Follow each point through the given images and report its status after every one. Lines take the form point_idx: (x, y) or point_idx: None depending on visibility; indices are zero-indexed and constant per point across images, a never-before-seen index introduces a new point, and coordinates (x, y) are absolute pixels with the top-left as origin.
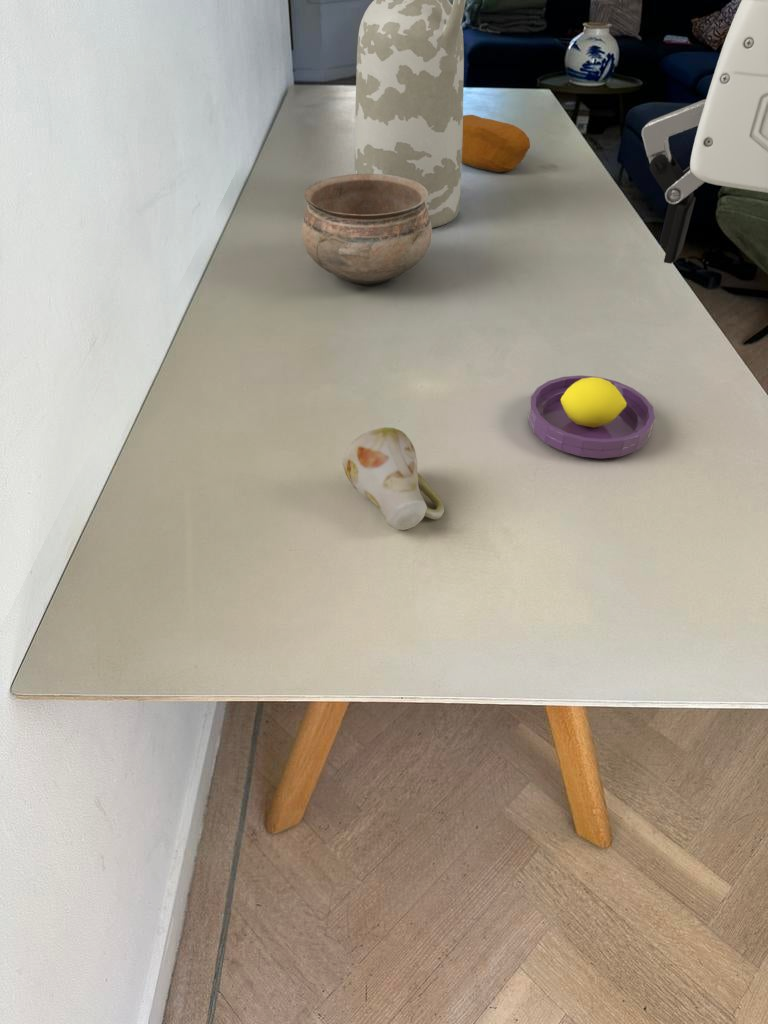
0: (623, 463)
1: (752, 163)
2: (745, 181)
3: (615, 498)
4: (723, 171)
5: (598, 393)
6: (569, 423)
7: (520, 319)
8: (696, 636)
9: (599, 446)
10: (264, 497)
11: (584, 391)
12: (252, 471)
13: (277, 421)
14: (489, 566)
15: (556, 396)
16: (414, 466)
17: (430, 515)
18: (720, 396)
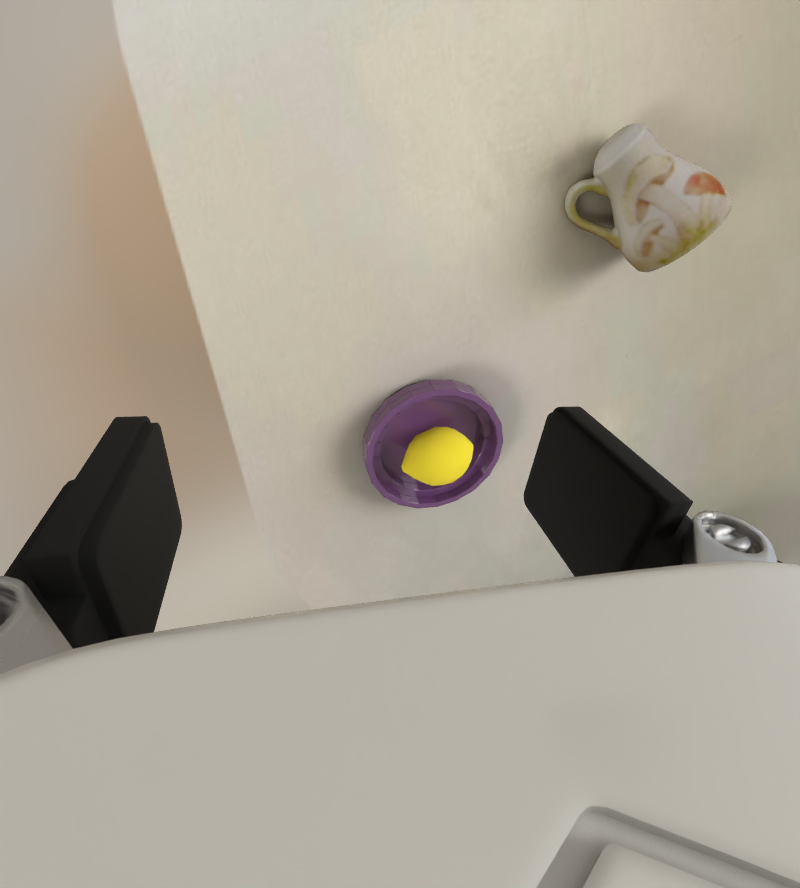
0: (379, 394)
1: (700, 705)
2: (626, 592)
3: (375, 327)
4: (770, 610)
5: (440, 456)
6: None
7: (521, 571)
8: (218, 85)
9: (414, 392)
10: (771, 138)
11: (456, 453)
12: (785, 185)
13: (757, 294)
14: (497, 119)
15: (472, 463)
16: (636, 217)
17: (583, 180)
18: (306, 548)
